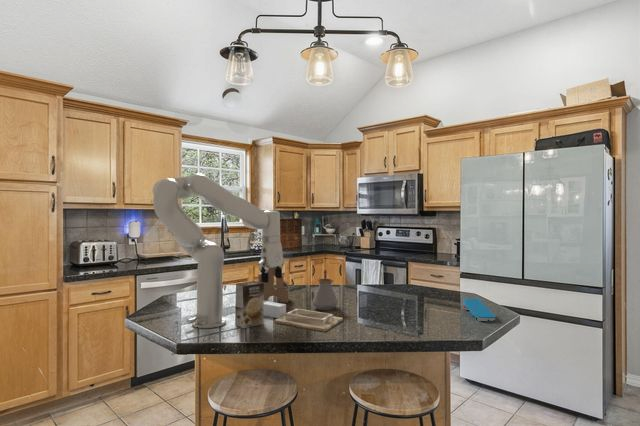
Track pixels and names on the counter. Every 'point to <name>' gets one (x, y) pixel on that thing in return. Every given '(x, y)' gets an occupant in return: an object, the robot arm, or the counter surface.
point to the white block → (274, 309)
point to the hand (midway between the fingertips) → (271, 280)
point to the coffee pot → (325, 295)
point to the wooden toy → (279, 290)
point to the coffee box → (249, 304)
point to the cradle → (309, 319)
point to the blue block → (478, 308)
